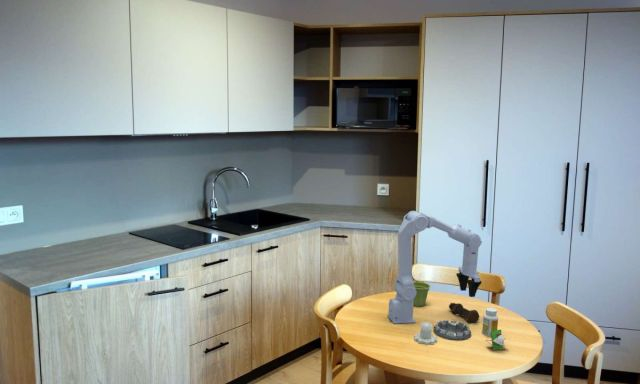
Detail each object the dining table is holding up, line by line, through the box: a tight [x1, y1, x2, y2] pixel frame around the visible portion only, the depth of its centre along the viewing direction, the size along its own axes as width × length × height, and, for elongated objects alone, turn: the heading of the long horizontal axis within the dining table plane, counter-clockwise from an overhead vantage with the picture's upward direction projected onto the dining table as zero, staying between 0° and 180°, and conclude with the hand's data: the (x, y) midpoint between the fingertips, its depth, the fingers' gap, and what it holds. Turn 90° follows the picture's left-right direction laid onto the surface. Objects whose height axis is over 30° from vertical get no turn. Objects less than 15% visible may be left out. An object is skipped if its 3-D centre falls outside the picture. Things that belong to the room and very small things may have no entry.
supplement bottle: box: [481, 307, 499, 337], centre depth 202 cm, size 5×5×10 cm
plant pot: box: [413, 281, 431, 307], centre depth 232 cm, size 9×9×9 cm
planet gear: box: [413, 321, 438, 346], centre depth 195 cm, size 8×8×6 cm
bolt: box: [448, 302, 480, 325], centre depth 219 cm, size 6×5×15 cm
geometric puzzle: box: [485, 329, 505, 351], centre depth 190 cm, size 7×7×8 cm
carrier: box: [433, 319, 472, 341], centre depth 203 cm, size 14×14×2 cm
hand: (467, 293), depth 218 cm, fingers open, 7 cm apart
